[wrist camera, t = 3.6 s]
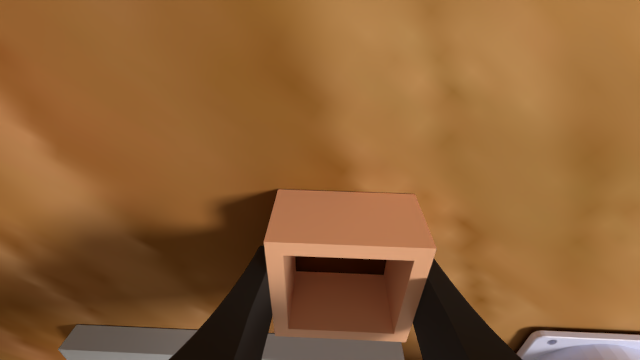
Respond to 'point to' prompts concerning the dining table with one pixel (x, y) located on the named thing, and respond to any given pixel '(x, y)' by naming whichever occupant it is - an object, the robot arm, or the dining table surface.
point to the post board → (161, 344)
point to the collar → (347, 242)
